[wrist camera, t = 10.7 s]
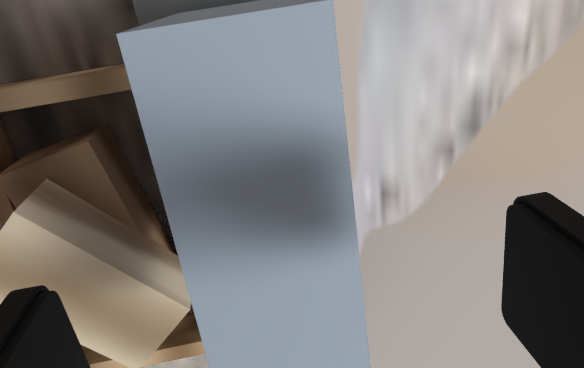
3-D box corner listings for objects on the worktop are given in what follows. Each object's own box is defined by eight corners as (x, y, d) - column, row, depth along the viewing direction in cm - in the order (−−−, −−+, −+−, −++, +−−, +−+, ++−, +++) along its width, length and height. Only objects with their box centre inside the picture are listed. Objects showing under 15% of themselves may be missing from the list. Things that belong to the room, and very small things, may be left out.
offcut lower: (107, 121, 27) (88, 141, 23) (188, 271, 31) (183, 307, 27) (26, 152, 27) (-6, 177, 23) (119, 297, 31) (104, 338, 27)
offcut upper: (46, 178, 23) (13, 211, 20) (195, 266, 26) (190, 309, 23) (1, 244, 24) (-39, 287, 21) (149, 321, 27) (137, 371, 24)
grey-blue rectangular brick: (272, -2, 25) (332, -1, 11) (303, 201, 29) (372, 383, 15) (178, 13, 24) (116, 33, 10) (224, 216, 29) (223, 416, 15)
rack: (158, 57, 26) (131, 82, 18) (225, 319, 32) (225, 413, 25) (-185, 115, 24) (-363, 166, 17) (-40, 373, 31) (-121, 489, 24)
